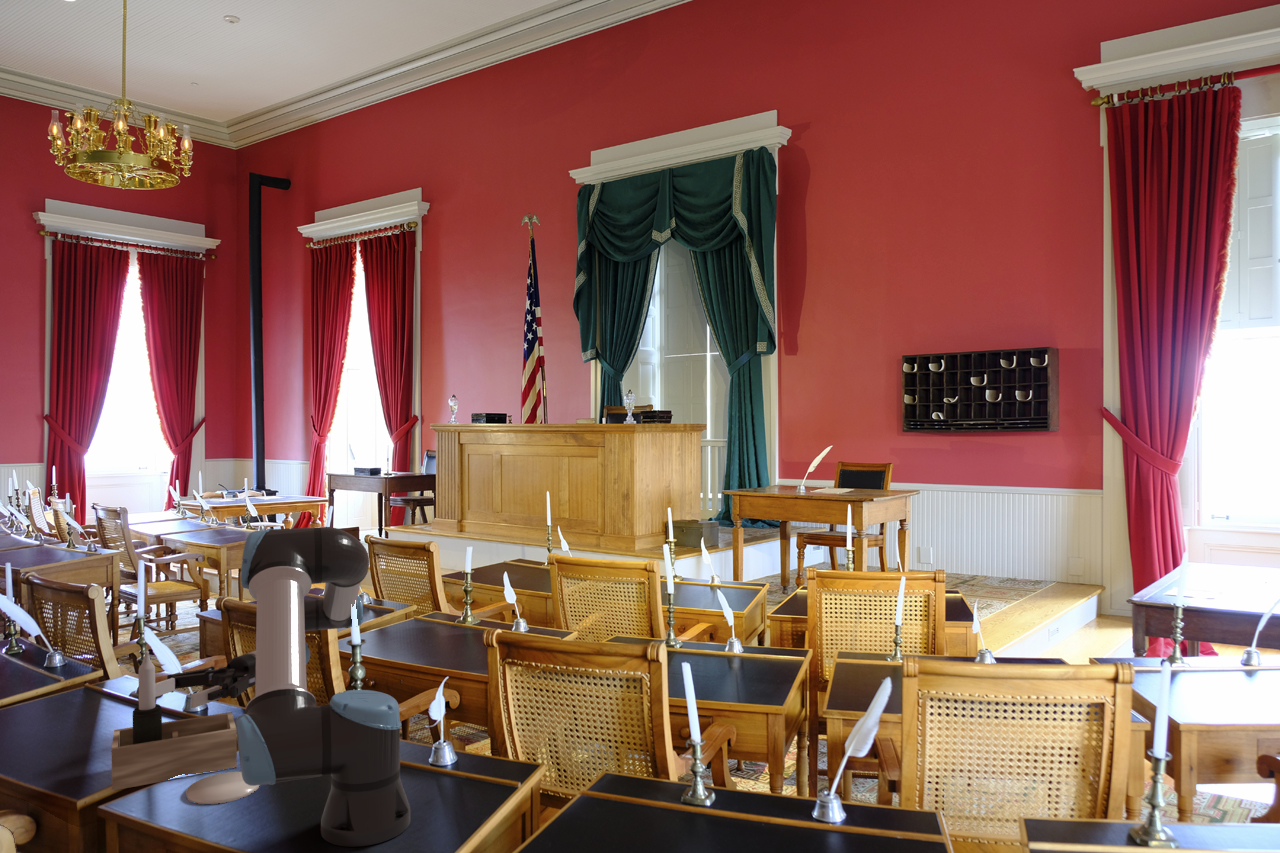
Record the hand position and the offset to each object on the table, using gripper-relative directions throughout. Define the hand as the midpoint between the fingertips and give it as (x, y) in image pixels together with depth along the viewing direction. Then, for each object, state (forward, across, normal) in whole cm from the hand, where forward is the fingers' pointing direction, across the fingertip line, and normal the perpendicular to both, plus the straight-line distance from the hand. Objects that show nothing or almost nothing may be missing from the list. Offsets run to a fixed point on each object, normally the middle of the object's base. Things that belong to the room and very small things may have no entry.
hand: (168, 697), depth 181 cm
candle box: (+1, -4, -14) cm, 14 cm away
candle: (+5, 0, -14) cm, 15 cm away
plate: (+5, -21, -14) cm, 26 cm away
